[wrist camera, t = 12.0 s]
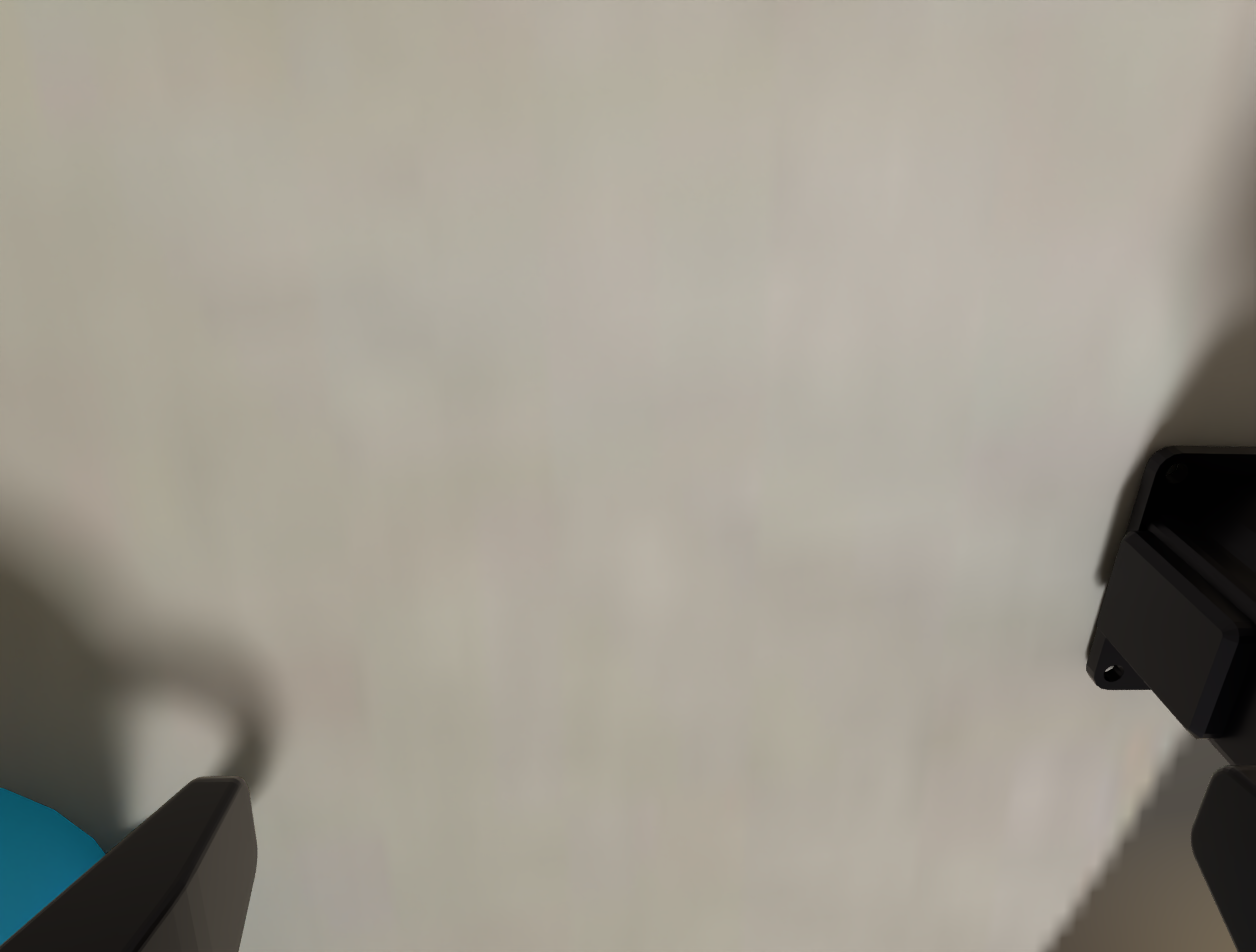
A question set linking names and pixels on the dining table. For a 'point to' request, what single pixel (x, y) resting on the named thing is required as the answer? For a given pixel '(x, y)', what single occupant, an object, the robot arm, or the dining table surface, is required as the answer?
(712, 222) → the dining table surface
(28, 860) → the mug
